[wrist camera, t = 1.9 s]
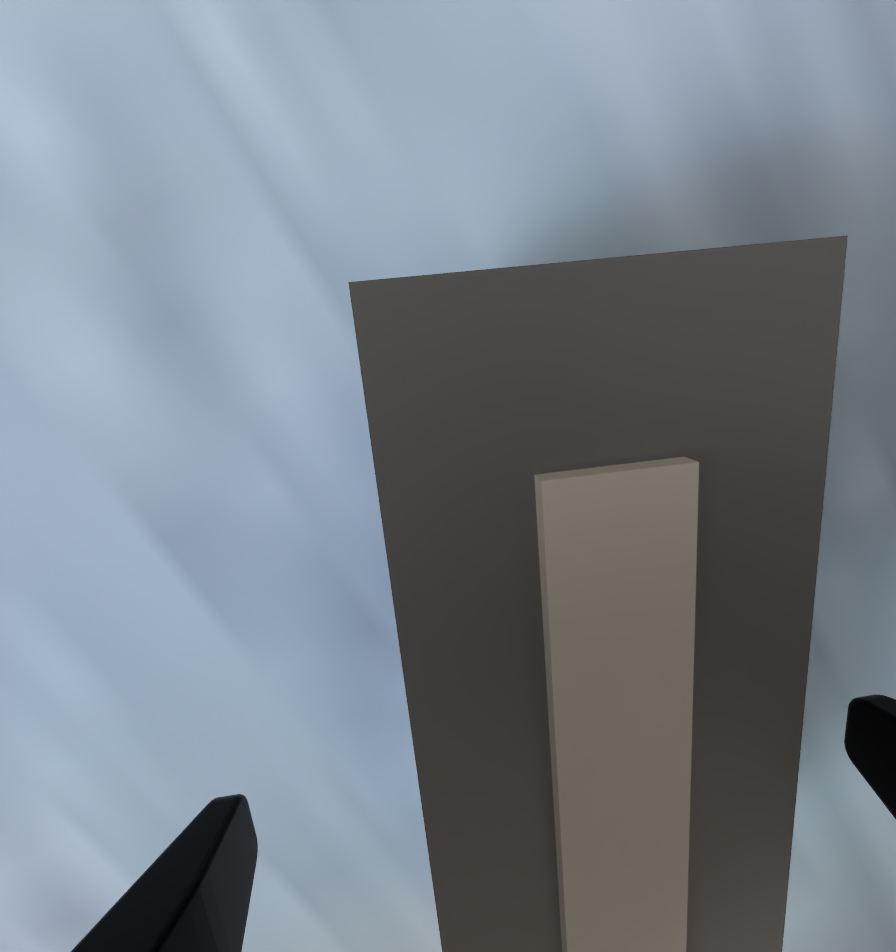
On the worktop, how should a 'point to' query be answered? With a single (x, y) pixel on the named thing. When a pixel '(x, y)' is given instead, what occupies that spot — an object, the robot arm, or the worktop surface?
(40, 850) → the worktop surface
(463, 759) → the grey block
